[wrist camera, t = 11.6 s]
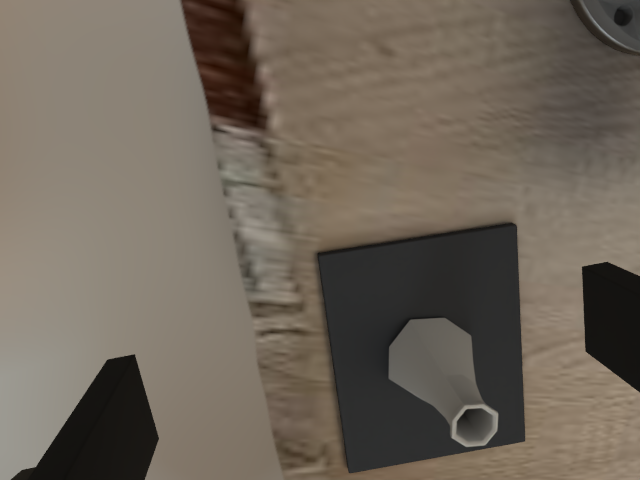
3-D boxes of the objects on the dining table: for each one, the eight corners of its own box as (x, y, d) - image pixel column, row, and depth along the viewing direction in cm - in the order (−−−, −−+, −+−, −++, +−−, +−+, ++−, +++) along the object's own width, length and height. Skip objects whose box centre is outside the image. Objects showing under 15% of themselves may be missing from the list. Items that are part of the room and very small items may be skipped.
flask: (402, 305, 41) (443, 363, 32) (483, 327, 43) (546, 389, 33) (374, 384, 43) (404, 462, 33) (453, 402, 44) (504, 484, 34)
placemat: (512, 222, 42) (517, 224, 41) (521, 436, 46) (525, 441, 46) (317, 253, 41) (318, 255, 40) (347, 467, 46) (349, 473, 45)
